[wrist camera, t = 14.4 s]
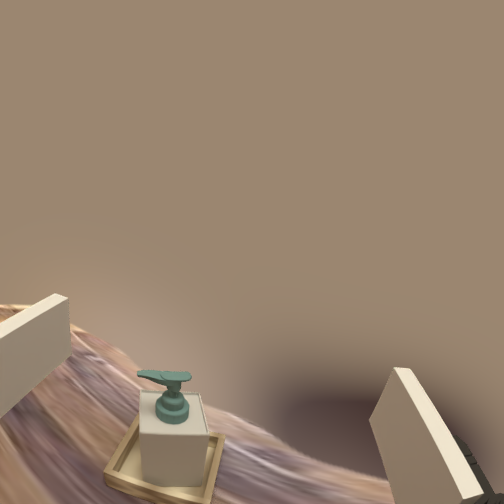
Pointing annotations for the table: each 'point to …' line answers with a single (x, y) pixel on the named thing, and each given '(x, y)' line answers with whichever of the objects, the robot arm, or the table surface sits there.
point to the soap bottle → (172, 432)
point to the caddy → (166, 497)
